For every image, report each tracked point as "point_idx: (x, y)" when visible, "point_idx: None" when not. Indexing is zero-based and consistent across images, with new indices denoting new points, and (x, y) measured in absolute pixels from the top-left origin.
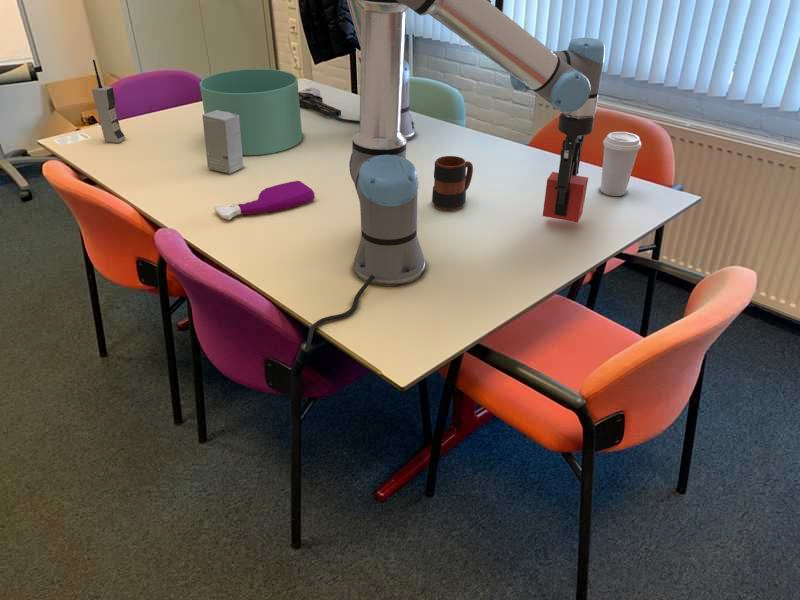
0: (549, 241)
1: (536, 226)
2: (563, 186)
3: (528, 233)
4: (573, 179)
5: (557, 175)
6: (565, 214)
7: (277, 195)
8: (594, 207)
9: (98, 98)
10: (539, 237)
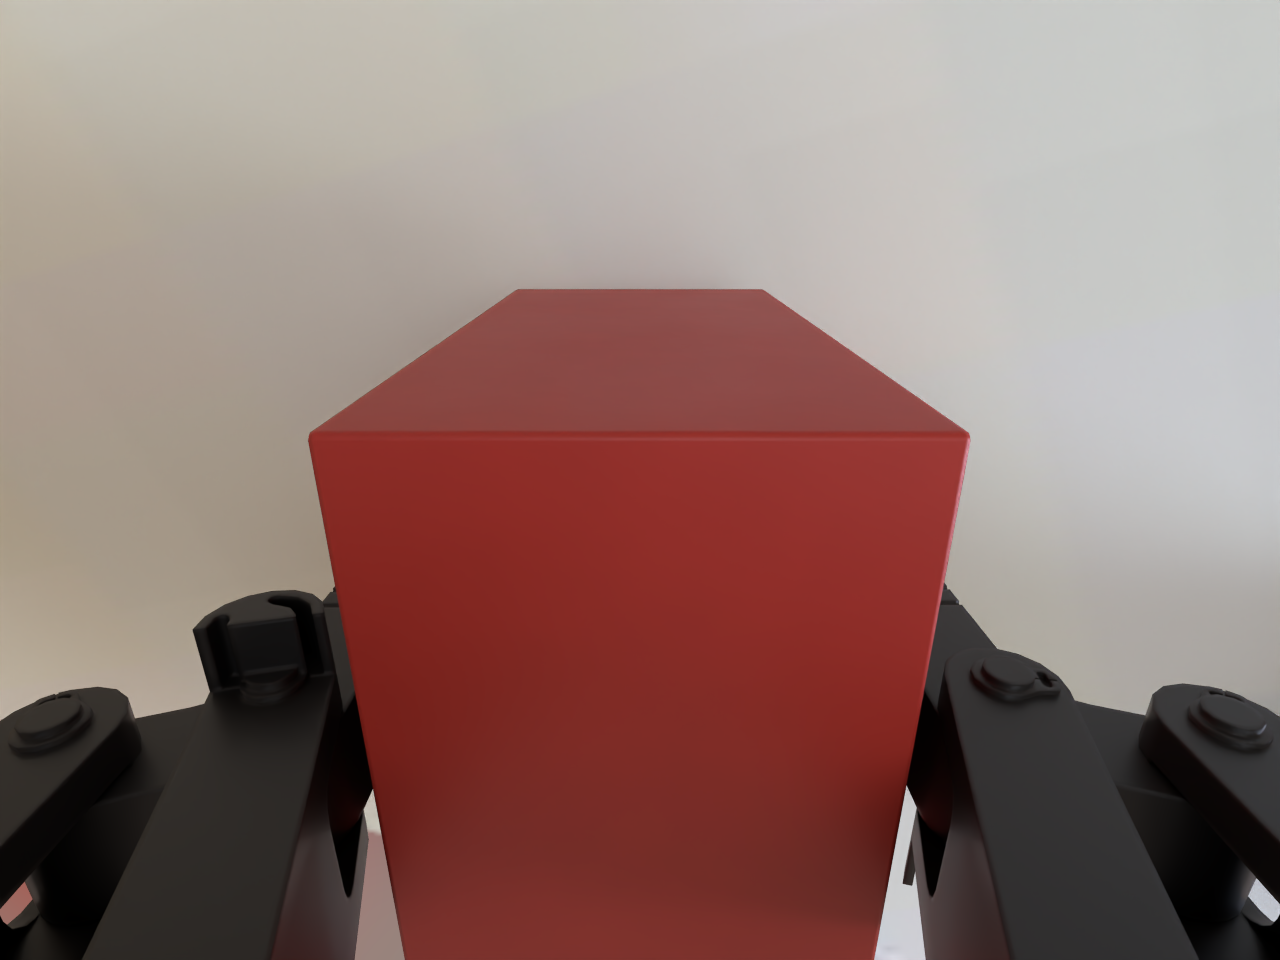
0: (259, 431)
1: (490, 235)
2: (31, 893)
3: (293, 199)
4: (619, 944)
5: (722, 620)
6: None
7: None
8: (1104, 626)
9: None
10: (278, 328)
